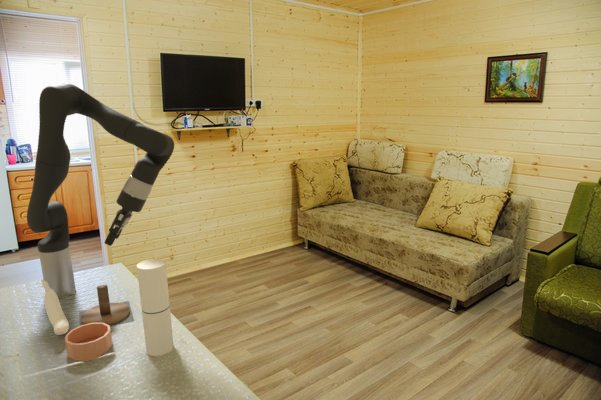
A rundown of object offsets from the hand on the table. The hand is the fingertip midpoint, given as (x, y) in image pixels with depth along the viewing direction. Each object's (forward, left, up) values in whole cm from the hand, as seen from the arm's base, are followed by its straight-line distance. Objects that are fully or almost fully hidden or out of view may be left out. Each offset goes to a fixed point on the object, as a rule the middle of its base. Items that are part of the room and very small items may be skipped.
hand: (111, 240), depth 126 cm
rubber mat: (-2, -4, -25) cm, 26 cm away
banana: (-1, -17, -26) cm, 31 cm away
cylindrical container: (+24, +8, -26) cm, 36 cm away
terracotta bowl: (+15, -9, -25) cm, 31 cm away
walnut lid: (-2, -4, -25) cm, 25 cm away
